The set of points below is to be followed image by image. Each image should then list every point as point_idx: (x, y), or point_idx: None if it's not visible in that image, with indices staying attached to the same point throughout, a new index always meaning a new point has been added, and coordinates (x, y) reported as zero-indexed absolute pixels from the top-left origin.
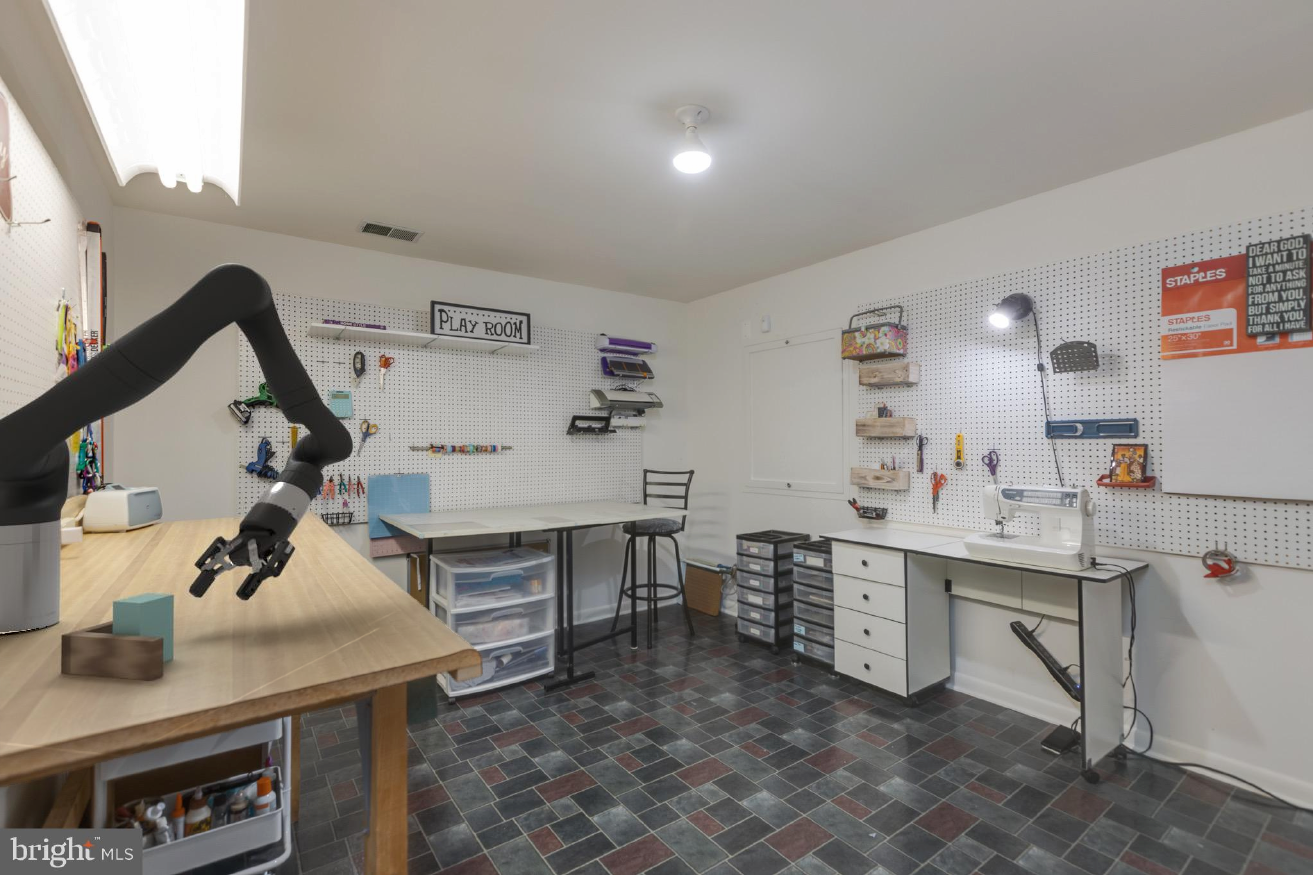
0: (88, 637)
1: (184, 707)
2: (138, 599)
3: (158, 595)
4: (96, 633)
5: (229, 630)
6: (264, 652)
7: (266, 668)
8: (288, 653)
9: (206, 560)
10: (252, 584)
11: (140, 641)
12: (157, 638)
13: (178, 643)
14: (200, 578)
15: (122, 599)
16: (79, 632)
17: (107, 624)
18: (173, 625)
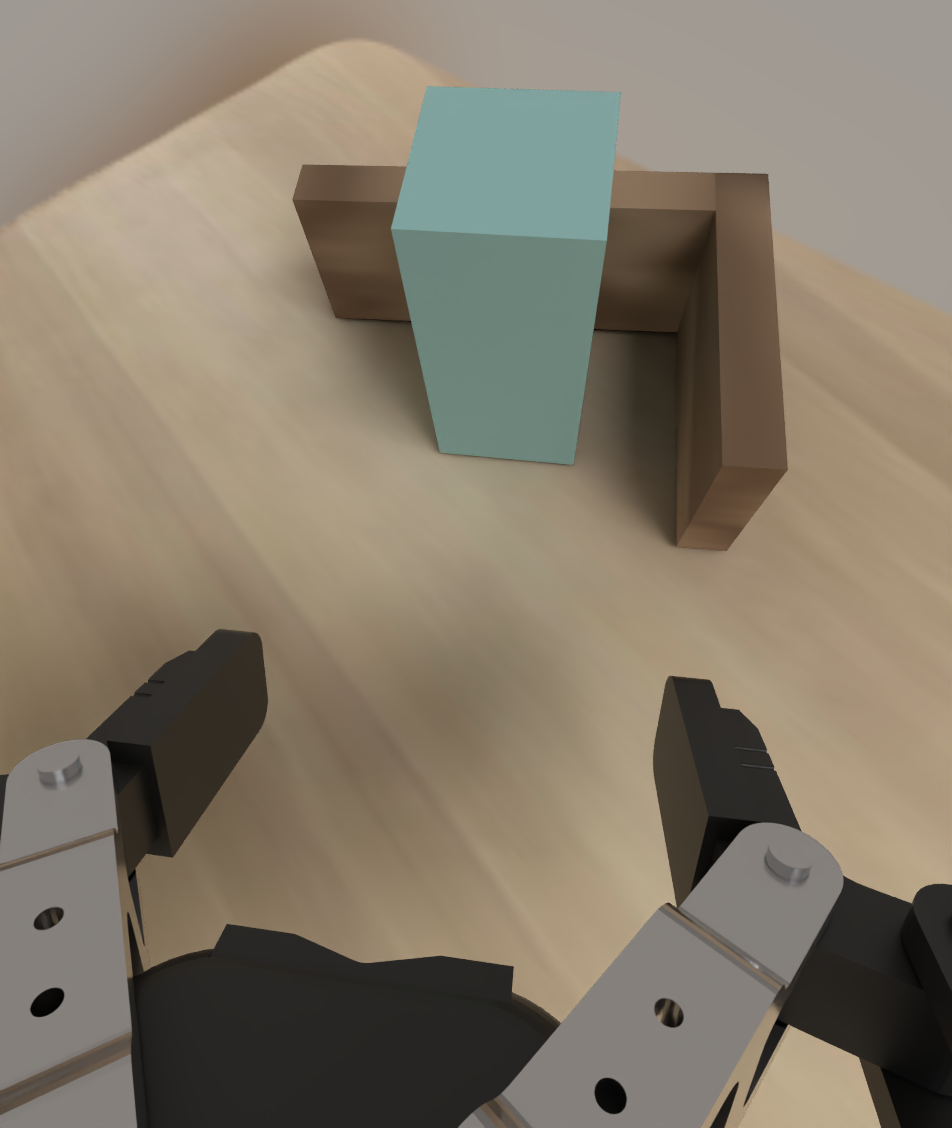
0: (619, 173)
1: (124, 186)
2: (510, 132)
3: (472, 204)
4: (632, 202)
5: (508, 868)
6: (119, 562)
7: (31, 419)
8: (12, 560)
9: (943, 1021)
10: (135, 697)
11: (356, 169)
12: (306, 188)
13: (602, 637)
14: (700, 747)
15: (608, 123)
16: (727, 204)
17: (730, 298)
18: (421, 364)
